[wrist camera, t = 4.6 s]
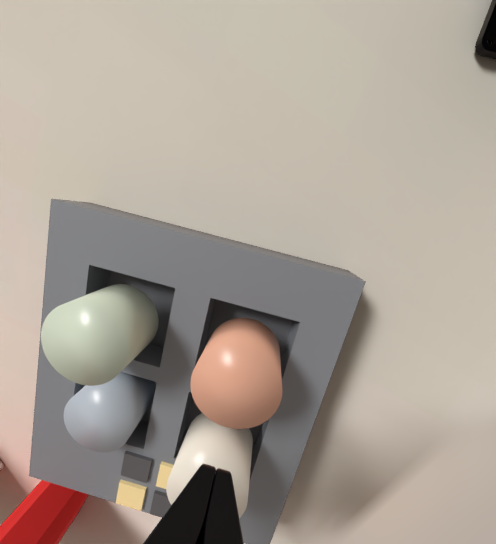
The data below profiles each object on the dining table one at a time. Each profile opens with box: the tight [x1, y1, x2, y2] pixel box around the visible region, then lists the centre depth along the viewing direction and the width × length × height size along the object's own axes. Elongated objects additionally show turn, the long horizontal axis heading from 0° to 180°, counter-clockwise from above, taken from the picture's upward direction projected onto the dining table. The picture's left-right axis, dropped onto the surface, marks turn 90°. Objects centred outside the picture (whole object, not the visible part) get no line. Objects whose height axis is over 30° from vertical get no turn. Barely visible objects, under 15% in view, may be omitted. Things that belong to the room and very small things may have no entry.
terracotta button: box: [191, 318, 282, 429], centre depth 12 cm, size 4×4×3 cm
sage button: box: [41, 284, 159, 386], centre depth 13 cm, size 4×4×3 cm
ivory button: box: [166, 413, 253, 518], centre depth 14 cm, size 4×4×3 cm
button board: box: [29, 199, 365, 544], centre depth 16 cm, size 17×19×3 cm
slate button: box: [64, 372, 156, 452], centre depth 16 cm, size 4×4×3 cm
